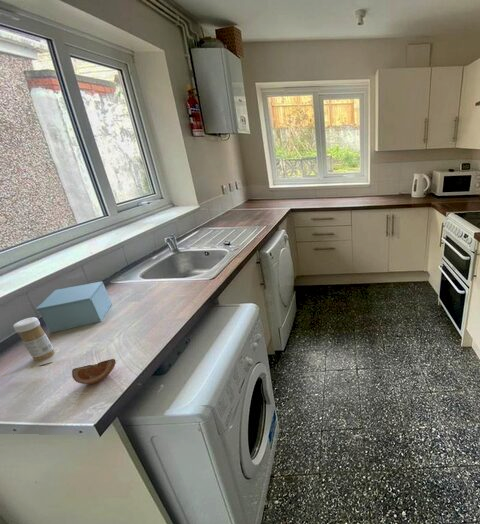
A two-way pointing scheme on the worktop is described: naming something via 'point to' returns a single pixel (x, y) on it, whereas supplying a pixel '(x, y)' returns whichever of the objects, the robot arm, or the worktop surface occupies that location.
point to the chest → (77, 312)
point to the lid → (70, 296)
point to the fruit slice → (93, 372)
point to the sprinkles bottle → (34, 339)
